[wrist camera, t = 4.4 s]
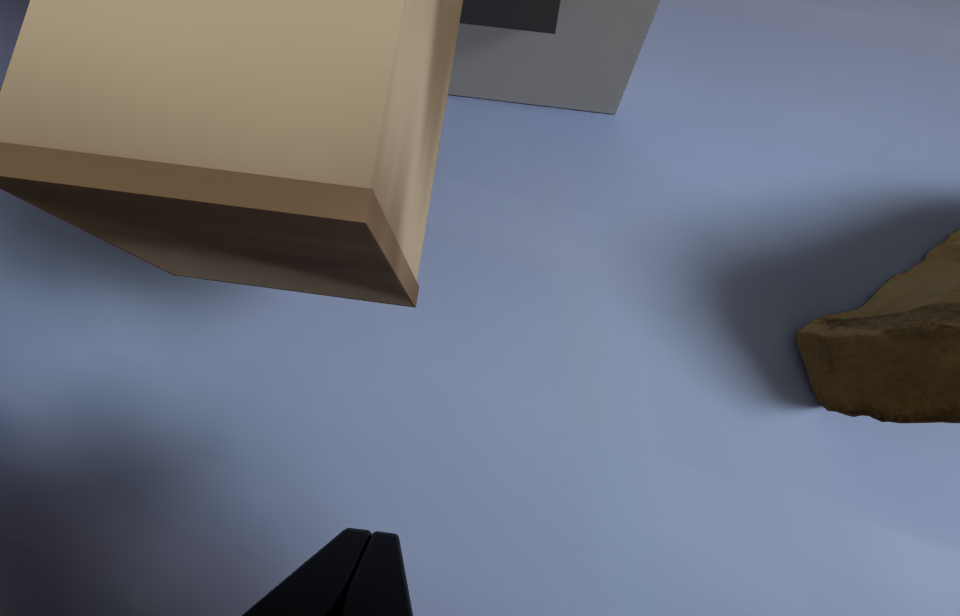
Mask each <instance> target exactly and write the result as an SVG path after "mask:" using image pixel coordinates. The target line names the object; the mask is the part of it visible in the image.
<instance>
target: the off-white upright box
mask: <svg viewBox="0 0 960 616" xmlns="http://www.w3.org/2000/svg"><path fill="white" fill-rule="evenodd" d="M659 2H660V0H463V4H462V10H461V16H460V22H459V28H458V34H457V40H456V46H455V52H454V58H453V64H452V70H451V76H450V82H449V89H448V94H449V95H457V96H466V97H474V98H483V99H491V100H499V101H508V102H516V103H525V104H533V105H542V106H550V107H558V108H567V109H575V110H584V111H592V112H600V113H609V114H615V113H616V111H617V108H618V106H619V103H620V101H621V98H622V96H623V93H624V91H625V88H626V86H627V83H628V80H629V78H630V75H631V73H632V70H633V68H634V65H635V63H636V60H637V58H638V55H639V53H640V50H641V48H642V45H643V43H644V40H645V38H646V35H647V33H648V30H649V28H650V25H651V23H652V20H653V18H654V15H655V13H656V10H657V8H658V5H659Z"/></svg>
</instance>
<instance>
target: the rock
mask: <svg viewBox="0 0 960 616" xmlns="http://www.w3.org/2000/svg"><path fill="white" fill-rule="evenodd" d="M796 339H797V344H798V347H799V350H800V352H801V355H802V358H803V360H804V363H805V366H806V369H807V373H808V377H809V380H810V384H811V387H812V389H813V391H814V393H815V395H816V397H817V400H818V402H819V403H820V404H821V405H822V406H823V407H824V408H825V409H826V410H828V411H835V412H839V413H842V414H845V415H848V416H852V417H856V416H861V415H864V416H870V417H872V418H875V419H877V420H879V421H881V422H896V423H935V422H945V423H960V229H959V230H957V231H955V232H954V233H952V234H950V235H949V237H948V239H947V240H946V241H944V242H943V243H941V244H940V245H938V246H936V247H934V248H933V249H931V250H930V251H929V252H928V253H927V254H926V255H925V258H924V260H923V261H922V262H920V263H918V264H916V265H915V266H913V267H912V268H911V269H909V270H908V271H907V272H904V273H900V274H896V275H895V276H894V277H892V278H891V279H890V280H889V281H888V282H886V283H885V284H884V285H883V286H882V287H881V288H880V289H879V290H878V291H877V292H876V293H875V295H874V296H873V297H872V298H871V299H870V300H868V301H867V302H866V303H865V304H864V305H863V306H862V307H860V308H859V309H855V310H851V311H843V312H840V313H837V314H834V315H829V314H828V315H824V316H821V317H819V318H816V319H814V320H812V321H811V322H809V324H808V325H807V326H805V327H804V328H802V329H801V330H799V331H798V332H797V334H796Z"/></svg>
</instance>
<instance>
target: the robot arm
mask: <svg viewBox="0 0 960 616" xmlns="http://www.w3.org/2000/svg"><path fill="white" fill-rule="evenodd" d="M242 616H413V613H412V607H411V602H410V596H409V591H408V585H407V580H406V574H405V568H404V563H403V557H402V552H401V546H400V541H399V537H398V535H397V534H394V533H386V532H379V531H376V532H374V533H373V534H372V533H371V532H370V531H369V530H362V529H354V528H347V529H345V530H343V531H342V532H341V533H340V534H338V535H337V536H336V537H335V538H334V539H333V540H331V541H330V542H329V543H328V544H327V545H325V546H324V547H323V548H322V549H321V550H319V551H318V552H317V553H316V554H315V555H313V556H312V557H311V558H310V559H309V560H307V561H306V562H305V563H304V564H303V565H301V566H300V567H299V568H298V569H297V570H295V571H294V572H293V573H292V574H291V575H289V576H288V577H287V578H286V579H285V580H284V581H282V582H281V583H280V584H279V585H278V586H276V587H275V588H274V589H273V590H272V591H270V592H269V593H268V594H267V595H266V596H264V597H263V598H262V599H261V600H260V601H258V602H257V603H256V604H255V605H254V606H252V607H251V608H250V609H249V610H248V611H246V612H245V613H244V614H243V615H242Z"/></svg>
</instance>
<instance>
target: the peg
mask: <svg viewBox="0 0 960 616" xmlns="http://www.w3.org/2000/svg"><path fill="white" fill-rule="evenodd" d="M462 4H463V0H30V3H29V6H28V9H27V12H26V15H25V18H24V21H23V24H22V27H21V30H20V33H19V36H18V39H17V42H16V45H15V48H14V51H13V54H12V58H11V61H10V64H9V67H8V70H7V73H6V76H5V79H4V82H3V85H2V88H1V91H0V189H2V190H4V191H6V192H8V193H10V194H12V195H14V196H16V197H18V198H20V199H22V200H24V201H26V202H28V203H30V204H32V205H34V206H36V207H38V208H40V209H42V210H44V211H46V212H48V213H50V214H52V215H54V216H56V217H58V218H60V219H62V220H64V221H66V222H68V223H70V224H72V225H74V226H76V227H78V228H80V229H82V230H84V231H86V232H88V233H90V234H92V235H94V236H96V237H98V238H100V239H102V240H104V241H106V242H108V243H110V244H112V245H114V246H116V247H118V248H120V249H122V250H124V251H126V252H128V253H130V254H132V255H134V256H136V257H138V258H140V259H142V260H144V261H146V262H148V263H150V264H152V265H154V266H156V267H158V268H160V269H162V270H164V271H166V272H168V273H170V274H172V275H176V276H184V277H191V278H199V279H206V280H214V281H221V282H228V283H236V284H243V285H251V286H258V287H266V288H273V289H281V290H288V291H296V292H303V293H311V294H318V295H326V296H333V297H341V298H348V299H355V300H363V301H370V302H378V303H385V304H393V305H400V306H408V307H415V308H416V302H417V296H418V290H419V286H418V283H417V277H418V271H419V265H420V259H421V253H422V246H423V240H424V234H425V228H426V222H427V216H428V210H429V204H430V198H431V192H432V186H433V180H434V174H435V168H436V161H437V155H438V149H439V143H440V137H441V131H442V125H443V119H444V113H445V107H446V101H447V95H448V89H449V82H450V76H451V70H452V64H453V58H454V52H455V46H456V40H457V34H458V28H459V22H460V16H461V10H462Z"/></svg>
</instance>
